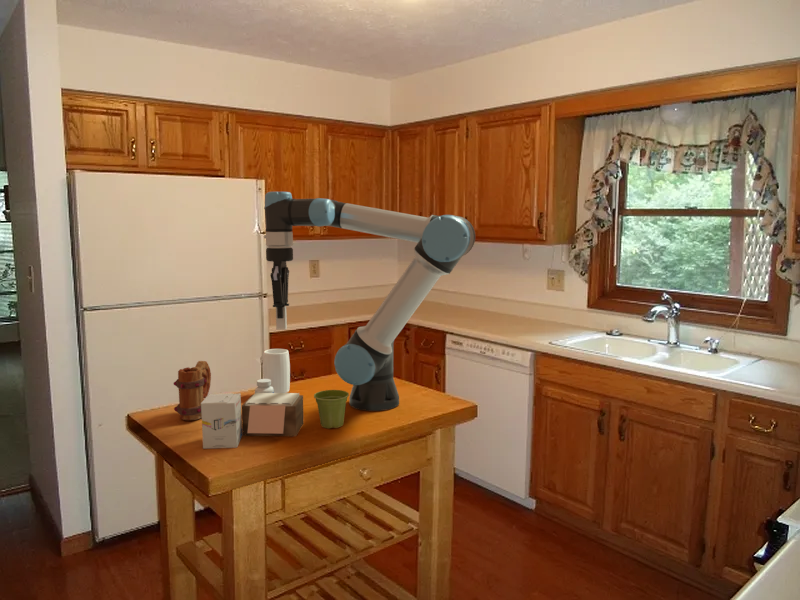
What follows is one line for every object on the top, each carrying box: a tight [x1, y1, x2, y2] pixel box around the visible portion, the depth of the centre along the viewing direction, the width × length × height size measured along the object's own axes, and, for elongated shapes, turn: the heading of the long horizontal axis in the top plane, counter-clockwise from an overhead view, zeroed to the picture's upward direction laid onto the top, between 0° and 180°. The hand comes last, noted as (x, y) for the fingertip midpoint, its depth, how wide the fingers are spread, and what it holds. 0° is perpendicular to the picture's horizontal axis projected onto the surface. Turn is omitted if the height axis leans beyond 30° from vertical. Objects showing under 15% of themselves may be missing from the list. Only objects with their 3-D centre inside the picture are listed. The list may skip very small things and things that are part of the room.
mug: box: [173, 360, 212, 421], centre depth 176 cm, size 15×8×15 cm, turn 168°
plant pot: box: [313, 389, 350, 429], centre depth 167 cm, size 9×9×9 cm
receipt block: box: [241, 392, 305, 437], centre depth 164 cm, size 14×10×9 cm
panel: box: [247, 405, 285, 434], centre depth 157 cm, size 9×7×1 cm
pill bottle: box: [254, 378, 274, 394], centre depth 178 cm, size 6×5×10 cm
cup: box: [262, 348, 291, 393], centre depth 197 cm, size 8×8×14 cm
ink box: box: [201, 392, 243, 450], centre depth 154 cm, size 9×8×12 cm
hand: (281, 329), depth 177 cm, fingers closed
